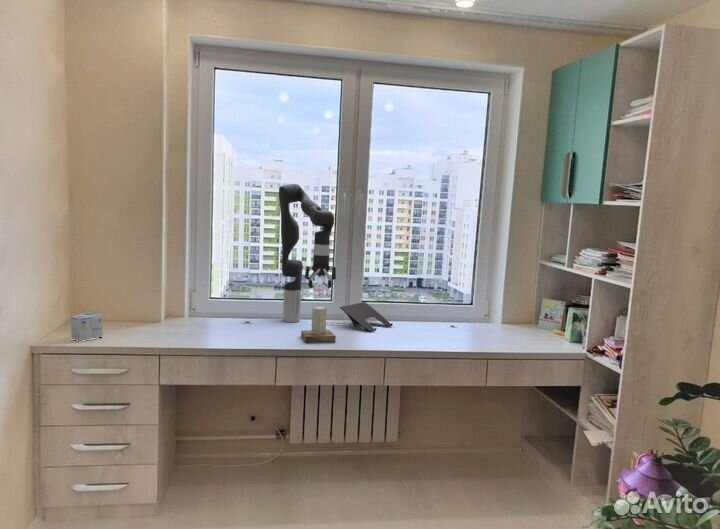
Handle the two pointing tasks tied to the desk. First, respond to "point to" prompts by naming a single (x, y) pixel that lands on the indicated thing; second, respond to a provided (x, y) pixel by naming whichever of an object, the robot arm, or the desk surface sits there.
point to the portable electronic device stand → (363, 315)
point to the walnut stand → (318, 337)
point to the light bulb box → (86, 326)
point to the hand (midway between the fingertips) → (319, 288)
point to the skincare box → (319, 320)
